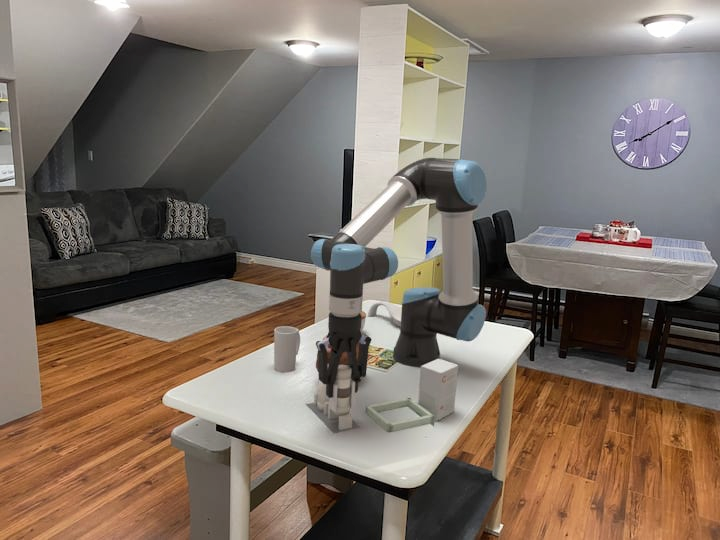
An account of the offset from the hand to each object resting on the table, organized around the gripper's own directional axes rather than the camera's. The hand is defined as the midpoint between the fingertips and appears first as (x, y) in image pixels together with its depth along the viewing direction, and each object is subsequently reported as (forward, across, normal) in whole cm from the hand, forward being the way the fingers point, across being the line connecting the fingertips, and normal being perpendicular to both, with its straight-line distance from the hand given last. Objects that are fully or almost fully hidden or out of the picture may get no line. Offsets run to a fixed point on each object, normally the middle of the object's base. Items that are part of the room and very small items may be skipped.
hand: (341, 407), depth 134 cm
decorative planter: (+6, +11, +23) cm, 26 cm away
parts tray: (+6, +15, -3) cm, 16 cm away
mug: (+6, +3, +40) cm, 40 cm away
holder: (+5, 0, +4) cm, 7 cm away
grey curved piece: (+7, +57, +67) cm, 88 cm away
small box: (+6, +26, -2) cm, 27 cm away
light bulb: (+1, 0, 0) cm, 1 cm away
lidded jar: (+6, +35, +61) cm, 70 cm away
